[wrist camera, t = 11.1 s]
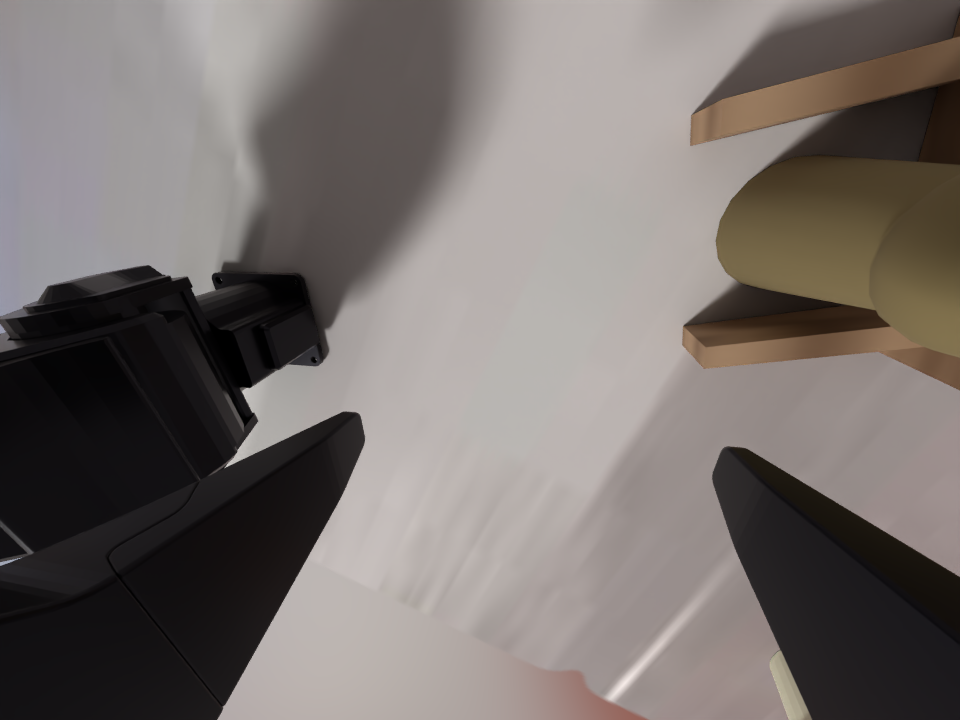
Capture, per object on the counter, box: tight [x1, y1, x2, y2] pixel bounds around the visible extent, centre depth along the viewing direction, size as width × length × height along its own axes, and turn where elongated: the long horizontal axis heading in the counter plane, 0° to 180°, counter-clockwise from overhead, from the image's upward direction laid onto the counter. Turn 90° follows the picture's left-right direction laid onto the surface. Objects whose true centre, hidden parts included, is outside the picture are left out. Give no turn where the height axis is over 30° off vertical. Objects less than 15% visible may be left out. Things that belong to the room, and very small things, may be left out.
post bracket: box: [682, 14, 960, 390], centre depth 12 cm, size 11×14×9 cm
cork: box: [716, 155, 960, 358], centre depth 12 cm, size 6×6×11 cm
